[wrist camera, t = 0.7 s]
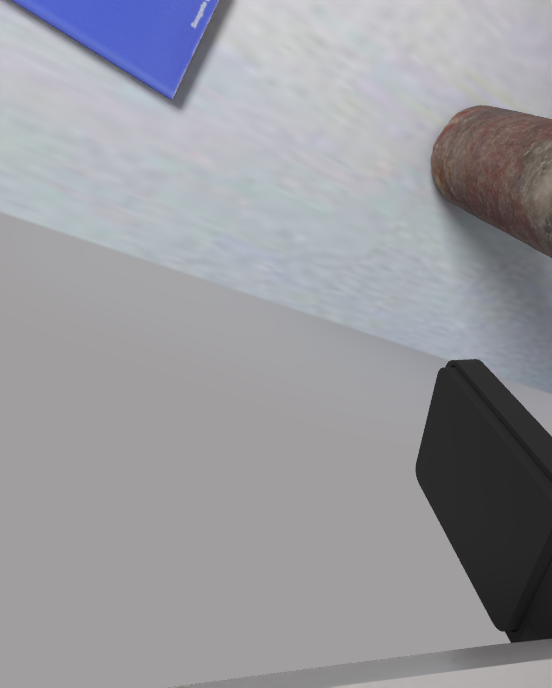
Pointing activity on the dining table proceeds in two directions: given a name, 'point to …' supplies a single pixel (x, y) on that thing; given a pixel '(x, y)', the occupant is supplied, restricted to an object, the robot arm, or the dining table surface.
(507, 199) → the candle
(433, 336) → the dining table surface
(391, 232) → the dining table surface
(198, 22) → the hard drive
